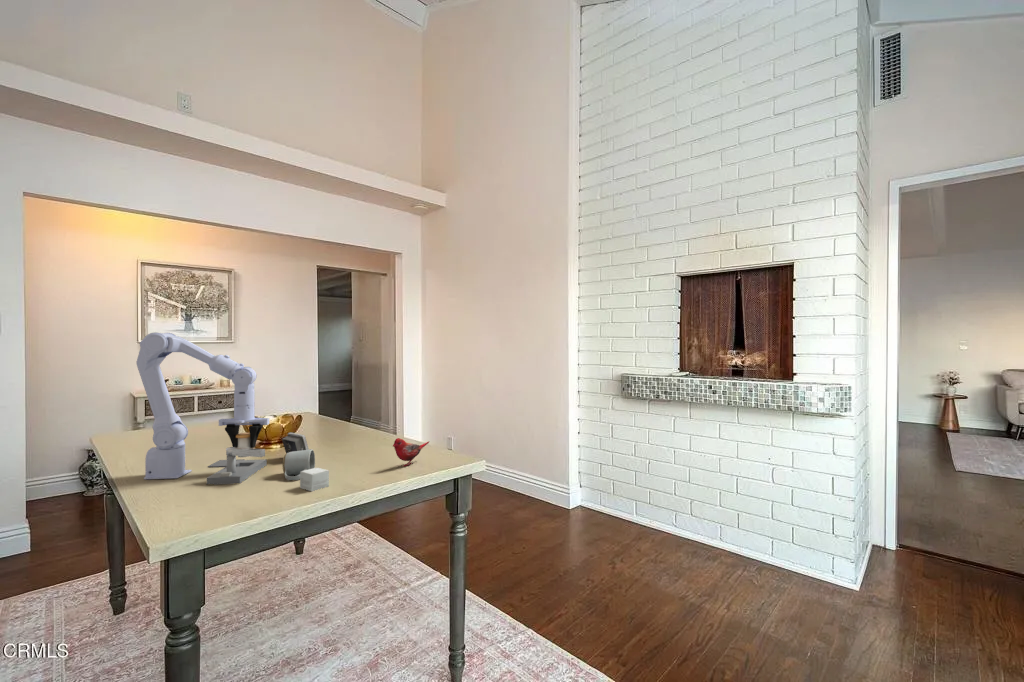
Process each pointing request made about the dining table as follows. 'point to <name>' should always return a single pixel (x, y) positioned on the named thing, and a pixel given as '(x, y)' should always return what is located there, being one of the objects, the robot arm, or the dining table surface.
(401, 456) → the decorative bird figurine
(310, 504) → the dining table surface
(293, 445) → the electrical switch
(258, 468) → the grey panel with tab
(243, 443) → the mushroom
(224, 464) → the rubber mat
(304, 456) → the ceramic mug
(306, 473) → the small box
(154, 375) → the robot arm
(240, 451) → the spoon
